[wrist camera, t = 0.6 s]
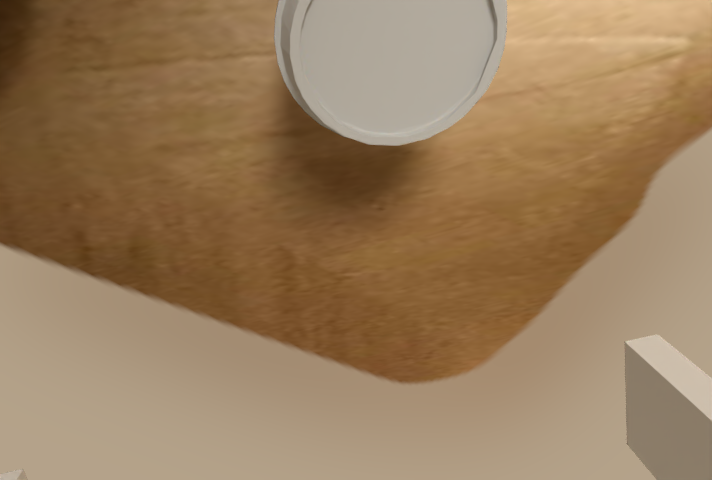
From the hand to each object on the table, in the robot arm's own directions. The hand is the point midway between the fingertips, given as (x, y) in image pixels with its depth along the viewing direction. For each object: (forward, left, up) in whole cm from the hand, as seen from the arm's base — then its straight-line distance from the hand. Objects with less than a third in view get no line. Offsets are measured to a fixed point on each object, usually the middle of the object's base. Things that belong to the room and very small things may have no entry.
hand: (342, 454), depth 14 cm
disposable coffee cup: (-5, +2, -27) cm, 28 cm away
